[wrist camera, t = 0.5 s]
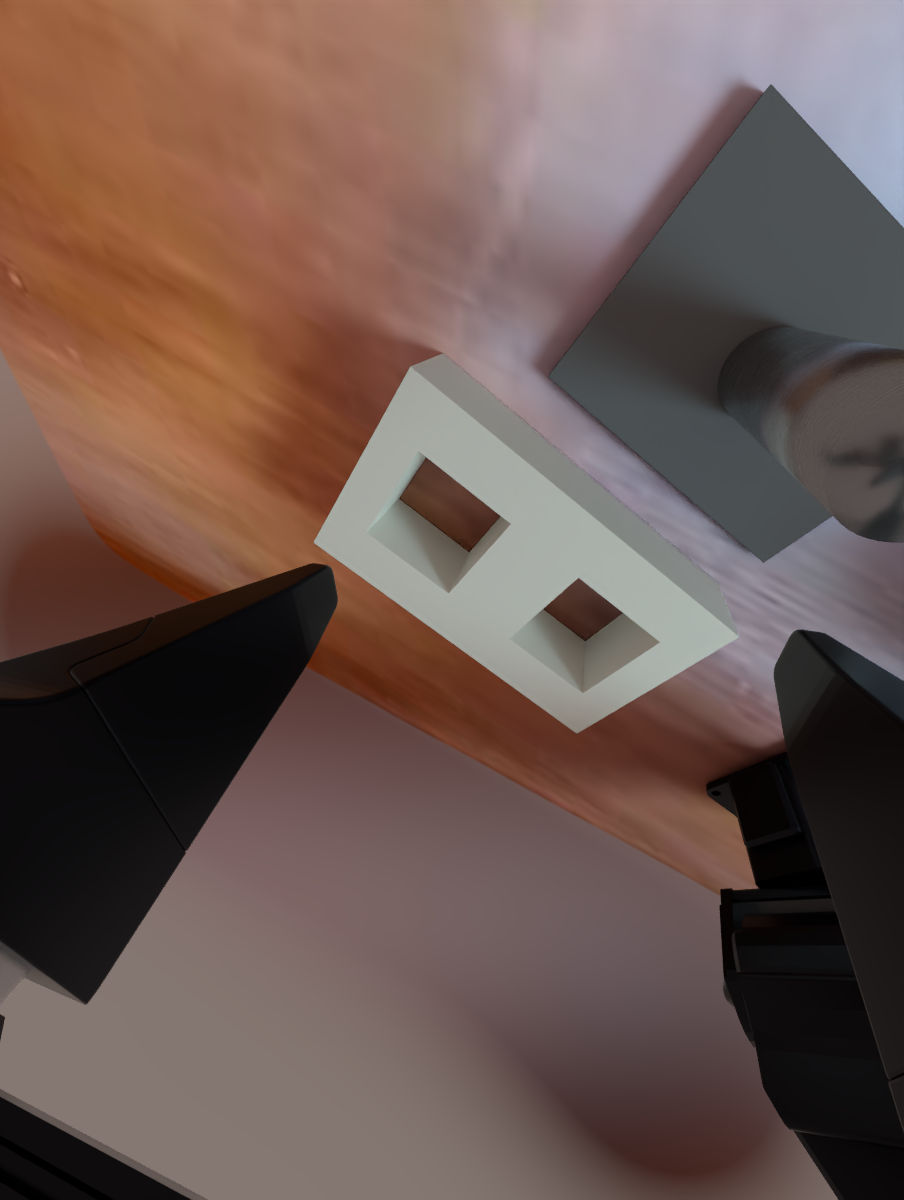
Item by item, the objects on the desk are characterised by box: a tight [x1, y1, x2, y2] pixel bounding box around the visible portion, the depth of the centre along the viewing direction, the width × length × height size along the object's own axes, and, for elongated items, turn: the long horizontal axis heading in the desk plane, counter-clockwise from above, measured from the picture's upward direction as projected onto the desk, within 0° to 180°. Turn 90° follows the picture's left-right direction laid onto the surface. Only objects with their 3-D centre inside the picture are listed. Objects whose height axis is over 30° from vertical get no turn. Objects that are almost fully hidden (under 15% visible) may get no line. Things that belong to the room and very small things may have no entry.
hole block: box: [314, 354, 739, 733], centre depth 21 cm, size 16×9×4 cm, turn 55°
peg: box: [717, 326, 904, 542], centre depth 12 cm, size 3×3×10 cm
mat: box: [548, 85, 904, 563], centre depth 16 cm, size 12×9×1 cm
